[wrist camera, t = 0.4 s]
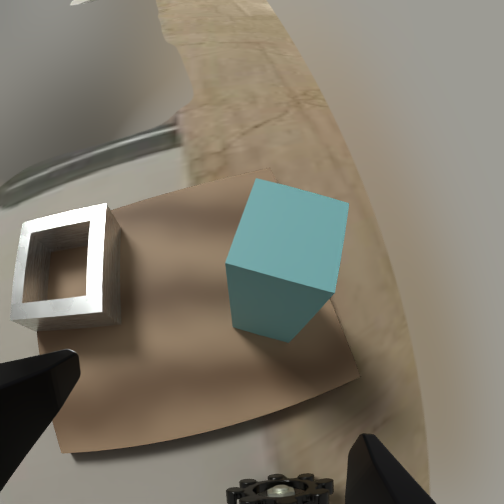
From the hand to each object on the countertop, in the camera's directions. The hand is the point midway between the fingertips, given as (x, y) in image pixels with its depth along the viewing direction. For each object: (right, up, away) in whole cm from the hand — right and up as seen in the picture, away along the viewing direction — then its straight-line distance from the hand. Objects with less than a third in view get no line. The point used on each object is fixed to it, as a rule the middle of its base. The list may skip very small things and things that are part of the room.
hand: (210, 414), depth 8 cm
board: (-5, 0, +15) cm, 15 cm away
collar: (-13, +2, +14) cm, 19 cm away
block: (+2, +1, +14) cm, 14 cm away
